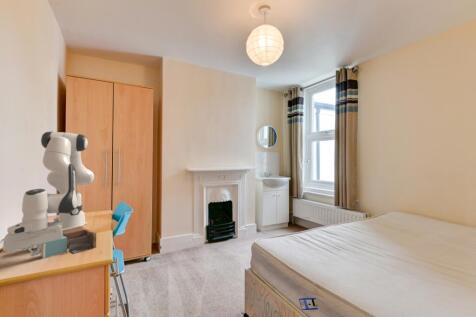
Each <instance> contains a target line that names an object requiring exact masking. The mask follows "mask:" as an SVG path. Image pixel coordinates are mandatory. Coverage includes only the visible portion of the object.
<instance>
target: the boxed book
mask: <svg viewBox="0 0 476 317" xmlns="http://www.w3.org/2000/svg"><path fill="white" fill-rule="evenodd" d="M67 252H68V248H67V237H65V236H63V237H62V239H59V240H55V241H50V242H46V243H44V244H43V246H42V248H41V250H40V257H41V258H43V259H47V258H50V257H53V256H56V255H60V254H64V253H67Z"/></svg>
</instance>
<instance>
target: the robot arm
mask: <svg viewBox="0 0 476 317" xmlns="http://www.w3.org/2000/svg"><path fill="white" fill-rule="evenodd" d="M40 142H41V146H42V147H43V148H44V149H45V151H44V154H43V158H42V164H43V165H44V167H45V168H46V169H47V170H49V171H50V172H49V173H47V174H48V175H47V176H46V180H47V183H48V184H49V185H50V186H52V187H54V188H55V189H56V191H58V192H59V193H48V192H47V190H46V189H45V188H36V189H35V188H34V189H30V190H27V191H25V192H24V194H23V198H22V204H21V205H22V206H21V212H22V219H21V222H19V223H16V224H14V225H11V226H9V227H7V234H6V235H5V236H4V239H3V244H2V250H3V252H5V253H10V252H14V251H15V252H16V251H19V250H22V249H27V250H28V251H29V252H30V256H31V257H33V256H37V255H40V252H41V250H40V249H41V248H42V246H43V244H44V243H46V242H50V241H55V240H59V239H62V237H63V233H62V229H65V228H70V227H75V226H79V225H80V226H82V227H83V226H85V225H86V224H88V221H86V216H85V211H83V204H82V202H83V201H82V194H81V192H79V191H78V190H77V186H86V185H90V184H92V183H93V182H94V180H95V174H94V172H93V171H92V170H90V169H88V168H87V167H85V165H84V164H83V161H82V152H84V151H85V150H87V147H88V145H89V142H88V139H87V137H86V135H84V134H81V133H72V132H62V131H61V132H60V131H46V132H44V133H42V136H41V138H40ZM48 214H58V215H56V217H55V218H53V221H54V222H49V215H48ZM36 245H37V246H39V247H38V248H37V247H36ZM33 247H36V249H35V250H32V249H33Z"/></svg>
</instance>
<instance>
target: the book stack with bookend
mask: <svg viewBox="0 0 476 317" xmlns="http://www.w3.org/2000/svg"><path fill="white" fill-rule="evenodd" d="M62 233H63V236H65V237H67V249H68V252H69V253H72V254H78V253H81V252H84V251H87V250H91V249H95V248H96V249H97V232H95V231H92V230H89V229H87V228H85V227H83V226H80V225H79V226H75V227H70V228H65V229H62Z"/></svg>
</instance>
